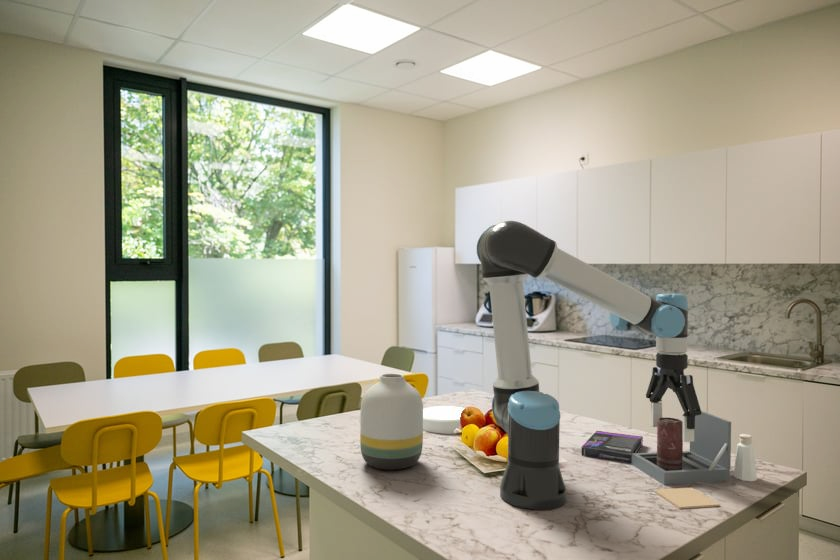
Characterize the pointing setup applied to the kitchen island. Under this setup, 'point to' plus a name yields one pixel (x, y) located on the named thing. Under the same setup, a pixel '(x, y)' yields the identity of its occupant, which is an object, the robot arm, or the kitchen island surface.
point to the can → (669, 444)
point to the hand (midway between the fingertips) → (671, 433)
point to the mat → (686, 498)
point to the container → (441, 419)
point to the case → (696, 455)
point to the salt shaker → (745, 460)
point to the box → (612, 446)
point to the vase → (391, 424)
